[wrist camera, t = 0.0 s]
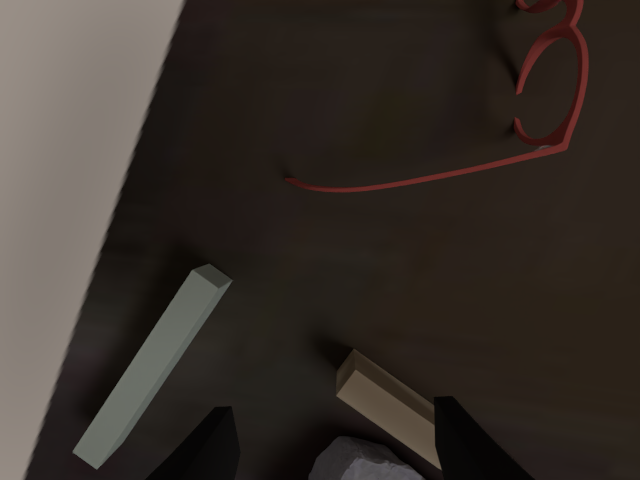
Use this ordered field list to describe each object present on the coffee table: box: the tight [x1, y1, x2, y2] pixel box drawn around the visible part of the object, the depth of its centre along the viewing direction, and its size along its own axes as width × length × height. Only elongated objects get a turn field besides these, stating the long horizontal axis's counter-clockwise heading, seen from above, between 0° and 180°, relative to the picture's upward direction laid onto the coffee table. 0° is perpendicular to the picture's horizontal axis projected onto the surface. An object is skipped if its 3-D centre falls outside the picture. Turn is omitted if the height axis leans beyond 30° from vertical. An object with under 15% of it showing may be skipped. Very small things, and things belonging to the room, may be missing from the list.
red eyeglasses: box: [285, 0, 588, 192], centre depth 18 cm, size 17×16×5 cm
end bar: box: [73, 264, 233, 469], centre depth 21 cm, size 15×2×2 cm, turn 145°
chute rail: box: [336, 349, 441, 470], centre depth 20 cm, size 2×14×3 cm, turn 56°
